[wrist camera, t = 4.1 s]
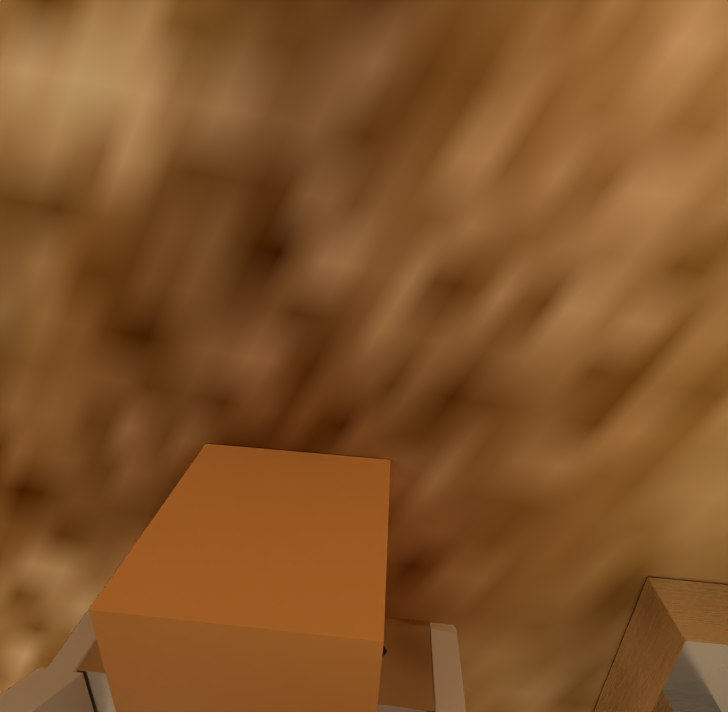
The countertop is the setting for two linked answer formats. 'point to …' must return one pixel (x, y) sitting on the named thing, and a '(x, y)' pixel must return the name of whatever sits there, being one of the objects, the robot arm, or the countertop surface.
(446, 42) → the countertop surface
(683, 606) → the grey tray with frame
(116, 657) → the bracket block
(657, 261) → the countertop surface
